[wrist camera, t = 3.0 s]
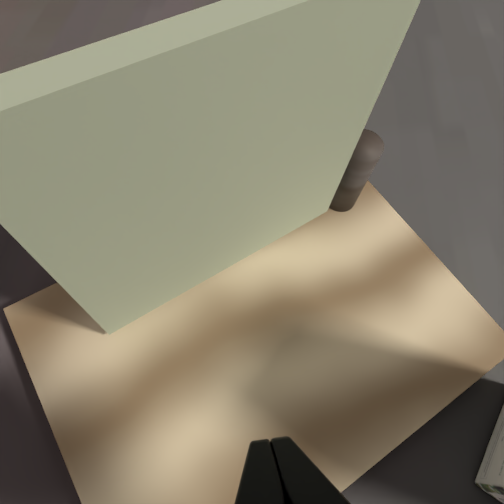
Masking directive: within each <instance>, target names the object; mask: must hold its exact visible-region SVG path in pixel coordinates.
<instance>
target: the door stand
mask: <svg viewBox="0 0 504 504" xmlns="http://www.w3.org/2000/svg"><path fill="white" fill-rule="evenodd" d="M383 150H384V143H383V141H382V139H381V138H380V137H379V136H378V135H377V134H376V133H374V132H372V131H370V130H367V129H363V131H362V134H361V136H360V138H359V140H358V143H357V145H356V147H355V150H354V152H353V154H352V156H351V159H350V161H349V163H348V165H347V168H346V170H345V172H344V174H343V177H342V179H341V181H340V183H339V186H338V188H337V190H336V192H335V195H334V197H333V199H332V201H331V204H330V206H329V208H328V210H327V212H325V213H323V214H321V215H320V216H318V217H316V218H314V219H313V220H311V221H309V222H307V223H306V224H304V225H302V226H300V227H299V228H297V229H295V230H293V231H291V232H290V233H288V234H286V235H284V236H283V237H281V238H279V239H277V240H276V241H274V242H272V243H270V244H269V245H267V246H265V247H263V248H261V249H260V250H258V251H256V252H254V253H253V254H251V255H249V256H247V257H246V258H244V259H242V260H240V261H239V262H237V263H235V264H233V265H232V266H230V267H228V268H226V269H224V270H223V271H221V272H219V273H217V274H216V275H214V276H212V277H210V278H209V279H207V280H205V281H203V282H202V283H200V284H198V285H196V286H194V287H193V288H191V289H189V290H187V291H186V292H184V293H182V294H180V295H179V296H177V297H175V298H173V299H172V300H170V301H168V302H166V303H164V304H163V305H161V306H159V307H157V308H156V309H154V310H152V311H150V312H149V313H147V314H145V315H143V316H142V317H140V318H138V319H136V320H134V321H133V322H131V323H129V324H127V325H126V326H124V327H122V328H120V329H119V330H117V331H115V332H113V333H112V334H110V335H109V334H108V333H107V332H106V331H105V330H104V329H103V328H102V327H101V326H100V325H99V324H98V323H97V322H96V321H95V320H94V319H93V318H92V317H91V316H90V315H89V314H88V313H87V312H86V311H85V310H84V309H83V308H82V307H81V306H80V305H79V304H78V303H77V302H76V301H75V300H74V299H73V298H72V297H71V296H70V295H69V294H68V293H67V291H66V290H65V289H64V288H63V287H62V286H61V285H60V284H59V283H58V282H57V283H55V284H53V285H51V286H49V287H47V288H45V289H43V290H41V291H38V292H36V293H34V294H32V295H30V296H28V297H26V298H24V299H22V300H20V301H18V302H16V303H14V304H12V305H10V306H8V307H6V308H4V309H3V310H4V312H5V315H6V317H7V320H8V322H9V325H10V327H11V330H12V332H13V335H14V337H15V340H16V342H17V345H18V347H19V350H20V352H21V354H22V357H23V359H24V362H25V364H26V367H27V369H28V372H29V374H30V377H31V379H32V382H33V384H34V387H35V389H36V392H37V394H38V397H39V399H40V402H41V404H42V407H43V409H44V412H45V414H46V417H47V419H48V422H49V424H50V427H51V429H52V432H53V434H54V436H55V439H56V441H57V444H58V446H59V449H60V451H61V454H62V456H63V459H64V461H65V464H66V466H67V469H68V471H69V474H70V476H71V479H72V481H73V484H74V486H75V489H76V491H77V494H78V496H79V499H80V501H81V504H234V503H235V499H236V495H237V491H238V487H239V483H240V479H241V475H242V471H243V467H244V463H245V460H246V456H247V452H248V448H249V444H250V442H251V441H254V440H261V439H268V440H269V441H270V440H271V439H272V438H275V437H283V436H289V437H290V438H292V440H293V441H294V442H295V443H296V444H297V445H298V446H299V447H300V448H301V449H302V451H303V452H304V453H305V454H306V455H307V456H308V457H309V458H310V459H311V461H312V462H313V463H314V464H315V465H316V466H317V467H318V468H319V469H320V470H321V472H322V473H323V474H324V475H325V476H326V477H327V478H328V479H329V480H330V481H331V483H332V484H333V485H334V486H335V487H336V488H337V489H338V490H339V491H340V492H342V491H343V490H345V489H346V488H347V487H348V486H349V485H351V484H352V483H353V482H354V481H356V480H357V479H358V478H359V477H360V476H362V475H363V474H364V473H365V472H367V471H368V470H369V469H370V468H371V467H373V466H374V465H375V464H376V463H377V462H379V461H380V460H381V459H382V458H384V457H385V456H386V455H387V454H388V453H390V452H391V451H392V450H393V449H394V448H396V447H397V446H398V445H399V444H401V443H402V442H403V441H404V440H405V439H407V438H408V437H409V436H410V435H412V434H413V433H414V432H415V431H416V430H418V429H419V428H420V427H421V426H422V425H424V424H425V423H426V422H427V421H429V420H430V419H431V418H432V417H433V416H435V415H436V414H437V413H438V412H440V411H441V410H442V409H443V408H444V407H446V406H447V405H448V404H449V403H450V402H452V401H453V400H454V399H455V398H457V397H458V396H459V395H460V394H461V393H463V392H464V391H465V390H466V389H467V388H469V387H470V386H471V385H472V384H474V383H475V382H476V381H477V380H478V379H480V378H481V377H482V376H483V375H485V374H486V373H487V372H488V371H489V370H491V369H492V368H493V367H494V366H495V365H497V364H498V363H499V362H500V361H502V360H503V359H504V331H503V330H502V329H501V328H500V327H499V325H498V324H497V323H496V322H495V321H494V320H493V319H492V318H491V317H490V315H489V314H488V313H487V312H486V311H485V310H484V309H483V308H482V307H481V305H480V304H479V303H478V302H477V301H476V300H475V299H474V298H473V297H472V295H471V294H470V293H469V292H468V291H467V290H466V289H465V288H464V287H463V285H462V284H461V283H460V282H459V281H458V280H457V279H456V278H455V277H454V275H453V274H452V273H451V272H450V271H449V270H448V269H447V268H446V267H445V265H444V264H443V263H442V262H441V261H440V260H439V259H438V258H437V257H436V255H435V254H434V253H433V252H432V251H431V250H430V249H429V248H428V247H427V246H426V244H425V243H424V242H423V241H422V240H421V239H420V238H419V237H418V236H417V234H416V233H415V232H414V231H413V230H412V229H411V228H410V227H409V226H408V224H407V223H406V222H405V221H404V220H403V219H402V218H401V217H400V216H399V214H398V213H397V212H396V211H395V210H394V209H393V208H392V207H391V206H390V204H389V203H388V202H387V201H386V200H385V199H384V198H383V197H382V196H381V194H380V193H379V192H378V191H377V190H376V189H375V188H374V187H373V186H372V184H371V183H370V182H369V181H368V178H369V177H370V175H371V173H372V171H373V169H374V167H375V165H376V164H377V162H378V160H379V158H380V156H381V154H382V153H383Z"/></svg>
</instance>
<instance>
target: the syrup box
mask: <svg viewBox="0 0 504 504" xmlns="http://www.w3.org/2000/svg"><path fill="white" fill-rule="evenodd" d="M475 483H476V485H477V486H479V487H480V488H481V489H482V490H484V491H485V492H487V493H488V494H489V495H491V496H492V497H493V498H495V499H497V500H498V501H499V502H501V503H502V504H504V404H503V407H502V410H501V412H500V415H499V418H498V420H497V423H496V425H495V428H494V431H493V433H492V436H491V439H490V441H489V444H488V447H487V449H486V452H485V455H484V458H483V460H482V463H481V466H480V469H479V472H478V474H477V477H476V479H475Z"/></svg>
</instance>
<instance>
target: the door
mask: <svg viewBox="0 0 504 504" xmlns="http://www.w3.org/2000/svg"><path fill="white" fill-rule="evenodd" d="M420 1H421V0H222V1H219V2H216V3H213V4H210V5H207V6H204V7H201V8H198V9H195V10H192V11H189V12H186V13H183V14H180V15H177V16H174V17H171V18H168V19H165V20H162V21H159V22H156V23H153V24H150V25H147V26H144V27H141V28H138V29H135V30H132V31H129V32H126V33H123V34H120V35H117V36H113V37H110V38H107V39H104V40H101V41H98V42H95V43H92V44H89V45H86V46H83V47H80V48H77V49H74V50H71V51H68V52H65V53H62V54H59V55H56V56H53V57H50V58H47V59H44V60H41V61H38V62H35V63H32V64H29V65H26V66H23V67H20V68H17V69H14V70H11V71H8V72H5V73H2V74H0V224H1V225H2V226H3V227H4V228H5V229H6V230H7V231H8V232H9V233H10V234H11V235H12V236H13V237H14V238H15V239H16V240H17V241H18V242H19V243H20V245H21V246H22V247H23V248H24V249H25V250H26V251H27V252H28V253H29V254H30V255H31V256H32V257H33V258H34V259H35V260H36V261H37V262H38V263H39V264H40V265H41V266H42V267H43V268H44V269H45V270H46V271H47V272H48V273H49V274H50V275H51V276H52V277H53V278H54V279H55V280H56V281H57V282H58V283H59V284H60V285H61V286H62V287H63V288H64V289H65V290H66V291H67V293H68V294H69V295H70V296H71V297H72V298H73V299H74V300H75V301H76V302H77V303H78V304H79V305H80V306H81V307H82V308H83V309H84V310H85V311H86V312H87V313H88V314H89V315H90V316H91V317H92V318H93V319H94V320H95V321H96V322H97V323H98V324H99V325H100V326H101V327H102V328H103V329H104V330H105V331H106V332H107V333H108V334H109V335H110V334H112V333H113V332H115V331H117V330H119V329H120V328H122V327H124V326H126V325H127V324H129V323H131V322H133V321H134V320H136V319H138V318H140V317H142V316H143V315H145V314H147V313H149V312H150V311H152V310H154V309H156V308H157V307H159V306H161V305H163V304H164V303H166V302H168V301H170V300H172V299H173V298H175V297H177V296H179V295H180V294H182V293H184V292H186V291H187V290H189V289H191V288H193V287H194V286H196V285H198V284H200V283H202V282H203V281H205V280H207V279H209V278H210V277H212V276H214V275H216V274H217V273H219V272H221V271H223V270H224V269H226V268H228V267H230V266H232V265H233V264H235V263H237V262H239V261H240V260H242V259H244V258H246V257H247V256H249V255H251V254H253V253H254V252H256V251H258V250H260V249H261V248H263V247H265V246H267V245H269V244H270V243H272V242H274V241H276V240H277V239H279V238H281V237H283V236H284V235H286V234H288V233H290V232H291V231H293V230H295V229H297V228H299V227H300V226H302V225H304V224H306V223H307V222H309V221H311V220H313V219H314V218H316V217H318V216H320V215H321V214H323V213H325V212H327V210H328V208H329V206H330V204H331V201H332V199H333V197H334V195H335V192H336V190H337V188H338V186H339V183H340V181H341V179H342V177H343V174H344V172H345V170H346V168H347V165H348V163H349V161H350V159H351V156H352V154H353V152H354V150H355V147H356V145H357V143H358V140H359V138H360V136H361V134H362V131H363V129H364V127H365V125H366V122H367V120H368V118H369V116H370V113H371V111H372V109H373V107H374V104H375V102H376V100H377V98H378V95H379V93H380V91H381V89H382V86H383V84H384V82H385V80H386V77H387V75H388V73H389V71H390V68H391V66H392V64H393V62H394V59H395V57H396V55H397V53H398V50H399V48H400V46H401V44H402V41H403V39H404V37H405V35H406V32H407V30H408V28H409V26H410V23H411V21H412V19H413V16H414V14H415V12H416V10H417V7H418V5H419V3H420Z"/></svg>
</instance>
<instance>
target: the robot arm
mask: <svg viewBox="0 0 504 504" xmlns="http://www.w3.org/2000/svg"><path fill="white" fill-rule="evenodd" d="M234 504H351V503H350V502H349V501H348V500H347V499H346V498H345V497H344V496H343V495H342V494H341V492H340V491H339V490H338V489H337V488H336V487H335V486H334V485H333V484H332V483H331V481H330V480H329V479H328V478H327V477H326V476H325V475H324V474H323V473H322V472H321V470H320V469H319V468H318V467H317V466H316V465H315V464H314V463H313V462H312V461H311V459H310V458H309V457H308V456H307V455H306V454H305V453H304V452H303V451H302V449H301V448H300V447H299V446H298V445H297V444H296V443H295V442H294V441H293V440H292V438H290V437H289V436H283V437H275V438H272V439H271V440H270V441H269V440H268V439H261V440H254V441H251V442H250V444H249V448H248V452H247V456H246V460H245V463H244V467H243V471H242V475H241V479H240V483H239V487H238V491H237V495H236V499H235V503H234Z"/></svg>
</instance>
